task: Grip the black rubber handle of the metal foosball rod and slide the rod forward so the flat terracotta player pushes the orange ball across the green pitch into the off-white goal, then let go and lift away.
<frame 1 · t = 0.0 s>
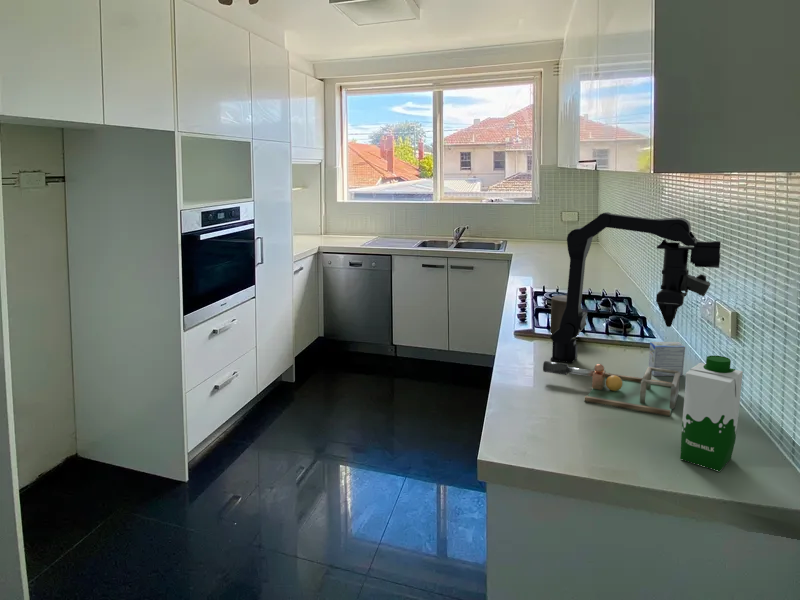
hand: (670, 322, 150), 15 cm above the worktop, tool pointing down, fingers open, 9 cm apart
pillar candle: (564, 337, 191), on the worktop
medicine box: (665, 374, 154), on the worktop
pitch: (634, 394, 139), on the worktop
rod: (573, 371, 146), point 4 cm above the worktop, slide at 0.0 cm
milk carton: (705, 460, 107), on the worktop
ball: (614, 383, 141), point 2 cm above the worktop, touching pitch
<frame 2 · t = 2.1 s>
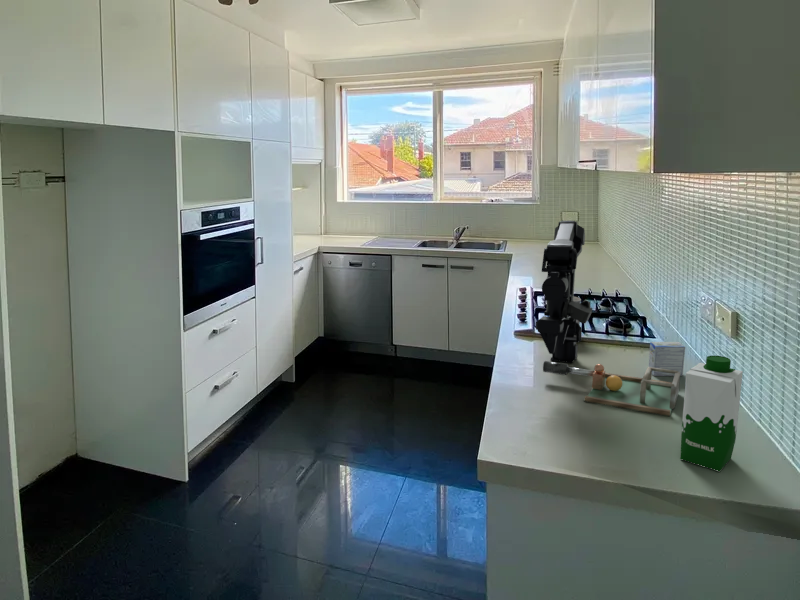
hand: (556, 348, 148), 9 cm above the worktop, tool pointing down, fingers open, 9 cm apart
nothing on the worktop moved.
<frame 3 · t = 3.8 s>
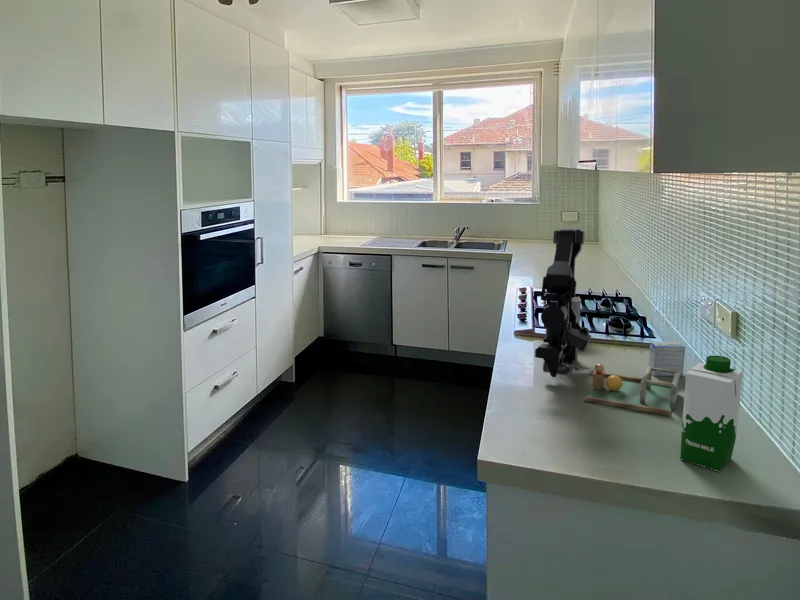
hand: (555, 375, 149), 2 cm above the worktop, tool pointing down, fingers closed on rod, 3 cm apart
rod: (573, 371, 146), point 4 cm above the worktop, slide at 0.0 cm, touching gripper
everything else where it was.
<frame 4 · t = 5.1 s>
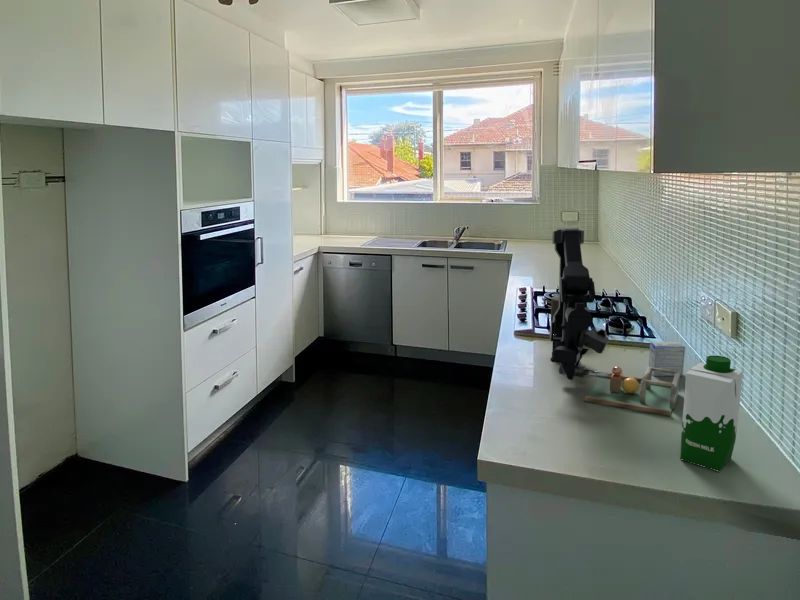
hand: (572, 377, 147), 2 cm above the worktop, tool pointing down, fingers closed on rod, 3 cm apart
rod: (590, 374, 144), point 4 cm above the worktop, slide at 4.4 cm, touching gripper
ball: (630, 385, 139), point 2 cm above the worktop, tilted 112°, touching pitch
everything else where it was.
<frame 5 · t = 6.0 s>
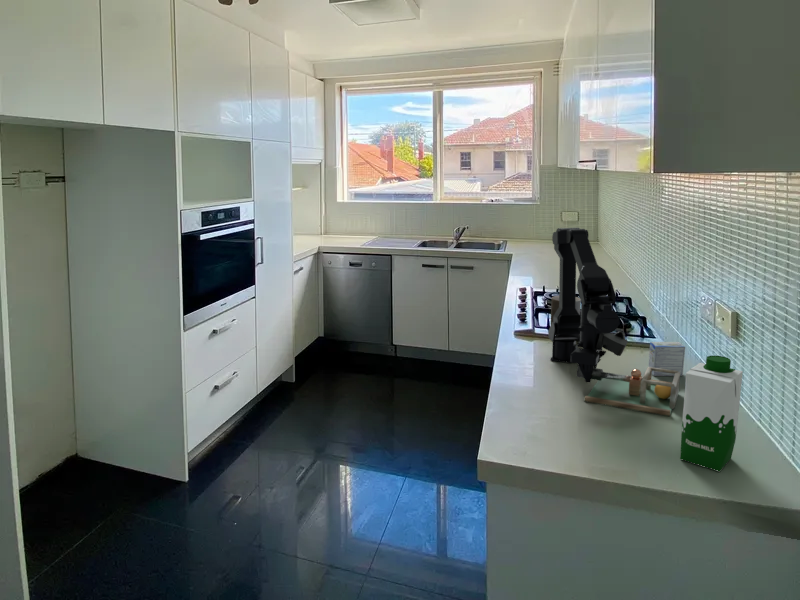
hand: (589, 380, 145), 2 cm above the worktop, tool pointing down, fingers closed on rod, 3 cm apart
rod: (608, 377, 142), point 4 cm above the worktop, slide at 8.9 cm, touching gripper
ball: (663, 390, 136), point 2 cm above the worktop, tilted 32°, touching pitch
everything else where it was.
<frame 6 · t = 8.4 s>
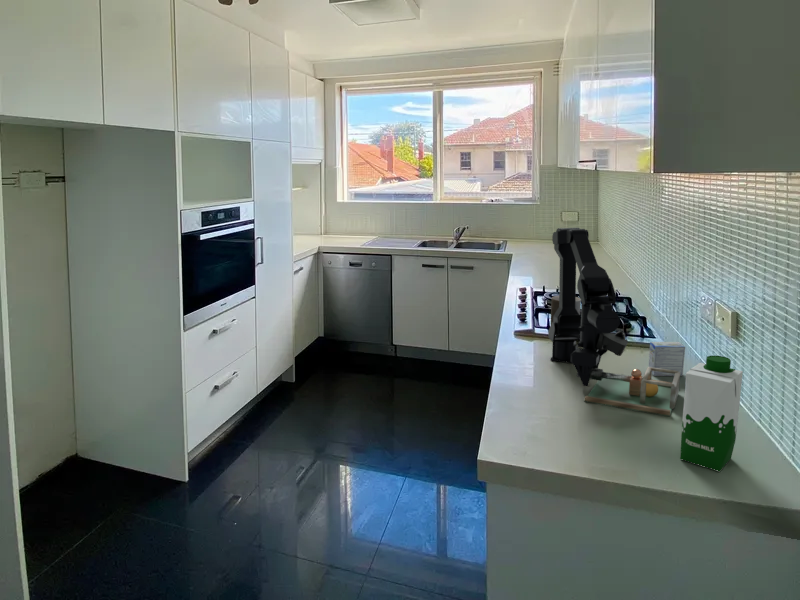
hand: (589, 380, 144), 2 cm above the worktop, tool pointing down, fingers open, 9 cm apart
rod: (608, 377, 142), point 4 cm above the worktop, slide at 8.9 cm
ball: (649, 388, 137), point 2 cm above the worktop, tilted 122°, touching pitch
everything else where it was.
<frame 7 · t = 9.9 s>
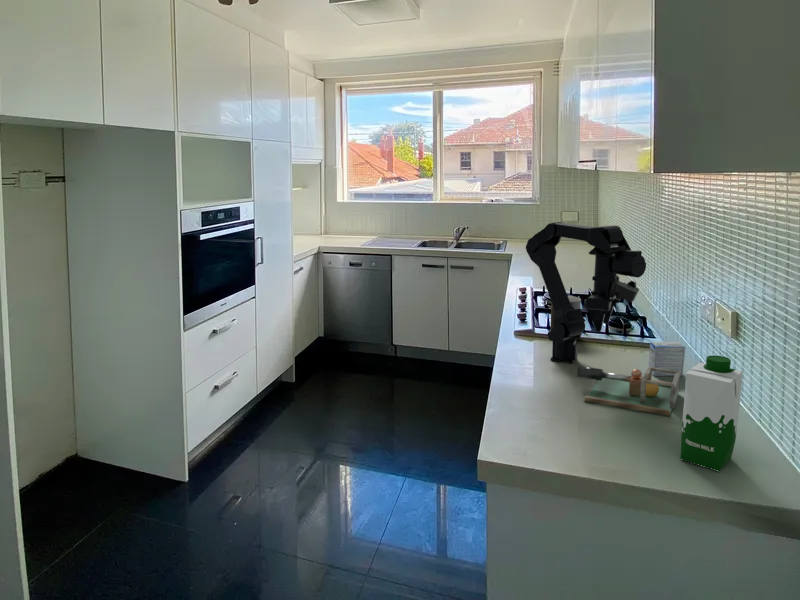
hand: (602, 327, 154), 13 cm above the worktop, tool pointing down, fingers open, 9 cm apart
nothing on the worktop moved.
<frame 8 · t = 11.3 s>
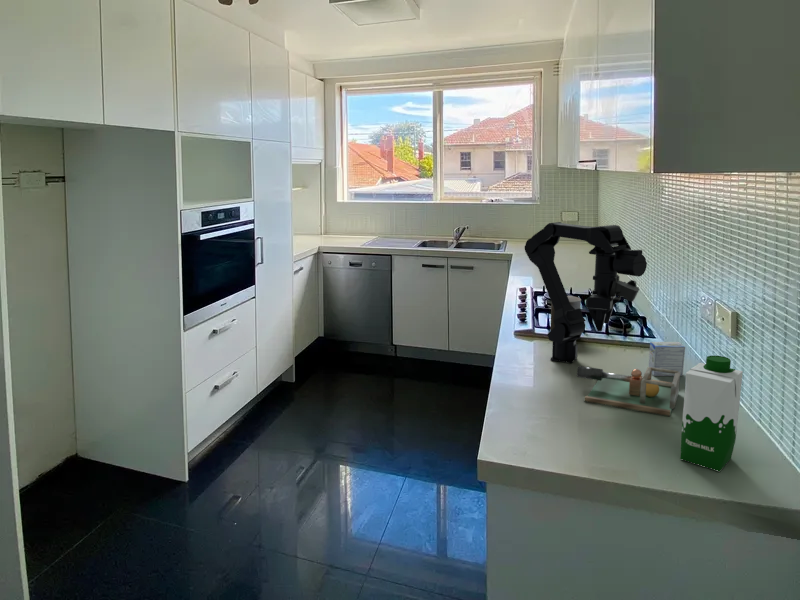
hand: (603, 327, 154), 13 cm above the worktop, tool pointing down, fingers open, 9 cm apart
nothing on the worktop moved.
at the end: ball inside the target area (1.6 cm from its centre), point 2.3 cm above the worktop; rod slide at 8.9 cm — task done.
